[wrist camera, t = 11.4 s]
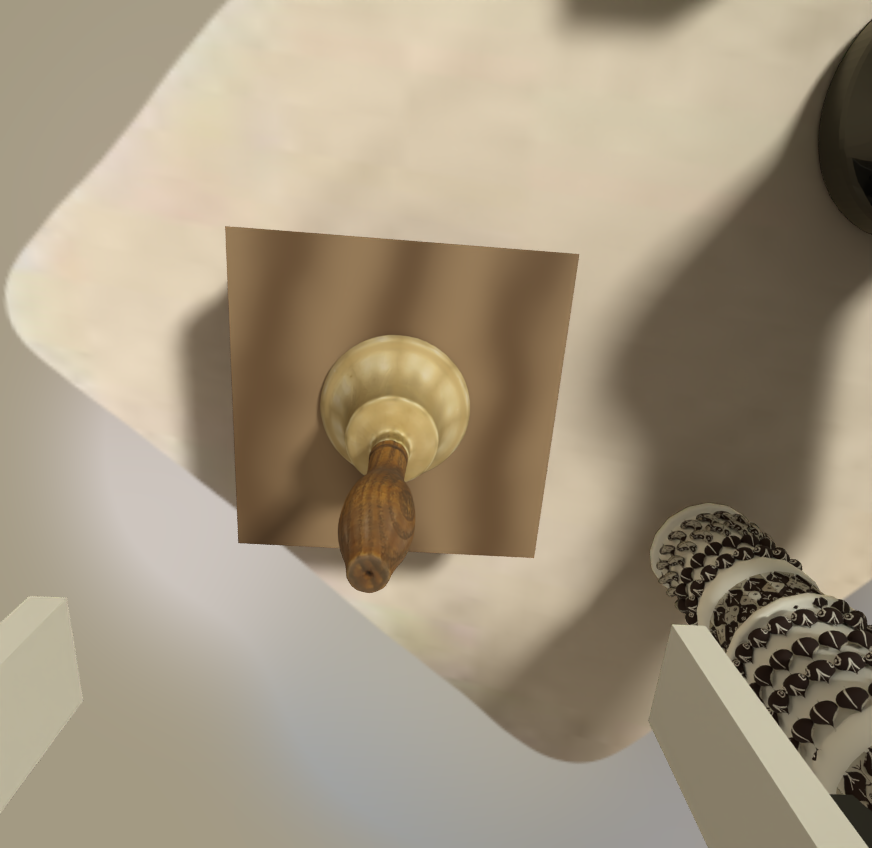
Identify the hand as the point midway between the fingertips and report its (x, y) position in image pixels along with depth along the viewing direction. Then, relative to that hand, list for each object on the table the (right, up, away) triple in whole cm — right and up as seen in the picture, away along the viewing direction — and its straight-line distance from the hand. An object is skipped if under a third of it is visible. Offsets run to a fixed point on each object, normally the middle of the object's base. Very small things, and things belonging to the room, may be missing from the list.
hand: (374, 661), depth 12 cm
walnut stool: (-1, +9, +27) cm, 29 cm away
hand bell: (-1, +6, +19) cm, 20 cm away
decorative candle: (+23, -5, +33) cm, 40 cm away
